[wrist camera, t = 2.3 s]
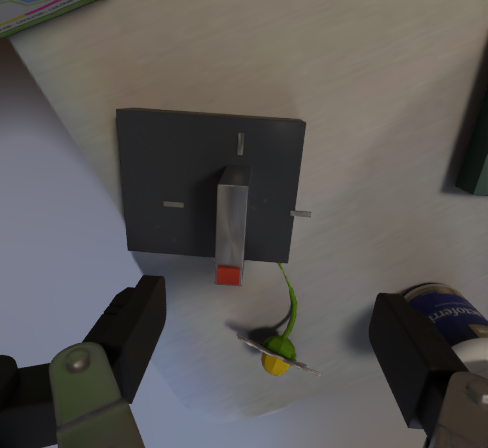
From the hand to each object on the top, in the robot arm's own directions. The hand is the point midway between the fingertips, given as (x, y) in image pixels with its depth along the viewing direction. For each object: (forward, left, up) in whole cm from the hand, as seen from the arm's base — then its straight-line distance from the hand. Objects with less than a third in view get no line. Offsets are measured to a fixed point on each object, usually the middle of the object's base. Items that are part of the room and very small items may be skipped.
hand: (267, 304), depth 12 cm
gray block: (0, -2, -11) cm, 11 cm away
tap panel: (-1, -4, -14) cm, 14 cm away
